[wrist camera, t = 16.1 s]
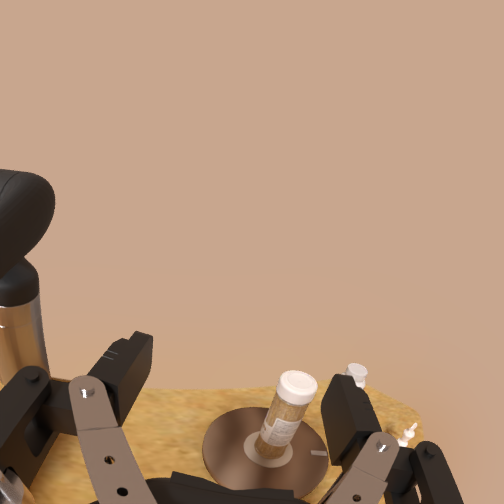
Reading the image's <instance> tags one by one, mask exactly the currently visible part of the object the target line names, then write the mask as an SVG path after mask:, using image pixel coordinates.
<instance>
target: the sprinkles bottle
mask: <svg viewBox="0 0 504 504" xmlns="http://www.w3.org/2000/svg"><path fill="white" fill-rule="evenodd" d="M317 388H318V386H317V382H316V381H315V379H314V378H313V377H311V376H310V375H309V374H307V373H304V372H301V371H297V370H291V371H287V372H284V373H283V374H282V375H281V376H280V379H279V381H278V384H277V387H276V394H275V396H274V399H273V401H272V404H271V406H270V408H269V410H268V413H267V415H266V418H265V420H264V423H263V425H262V427H261V430H260V433H259V436H258V438H257V439H256V441H255V443H254V447H255V450H256V452H257V453H258V454H259V455H260V456H262V457H264V458H267V459H278V458H280V457H282V456H283V455H284V453H285V451H286V447H287V446H288V444H289V443H290V441H291V439H292V438H293V436H294V434H295V432H296V430H297V428H298V426H299V424H300V422H301V420H302V418H303V416H304V413H305V411H306V409H307V407H308V405H309V403H310V402H311V401H312V400H313V398H314V396H315V393H316V391H317Z"/></svg>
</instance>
